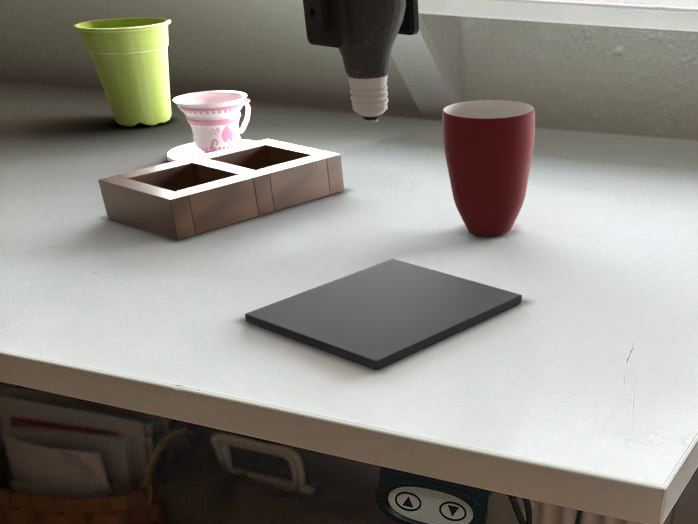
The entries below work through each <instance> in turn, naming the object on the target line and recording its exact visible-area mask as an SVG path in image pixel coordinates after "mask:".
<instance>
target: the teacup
mask: <svg viewBox="0 0 698 524" xmlns="http://www.w3.org/2000/svg"><path fill="white" fill-rule="evenodd" d="M247 97H248V94H247V93H246V92H244V91H240V90H231V89H230V90H229V89H228V90H226V89H221V90H219V89H217V90H216V89H215V90H204V91H203V90H202V91H195V92H189V93H185V94H181V95H178V96H175V97H173V99H172V102H173V103H174V104H175V105H176V108H177V109H179V111H181V112H182V113H183V114H184V115H185V116H184V117H185V121H187V122H188V124H189V125H190V128H191V131H192V139H193V142H189V143H185V144H181V145H179V146H176V147H173V148H171V149H170V150H169V151H168V152H167V153H166V157H167V161H169V162H173V161H177V160H182V159H186V158H190V157H194V156H198V155H202V154H207V153H211V152H215V151H219V150H223V149H227V148H232V147H236V146H240V145H244V144H248V143H252V142H256V141H257V140H253V139H243V138H241V134H243V133H244V132H245V131H246V129H247V127H248V124H249V123H250V118H251V111H252V107H251V104H250V103H251V99H250V98H247ZM243 107H245V113H244V119H243V121H242V123H241V126H240V125H239V123H240V118H241V116H242V114H241V110H242V109H243Z"/></svg>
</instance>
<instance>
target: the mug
mask: <svg viewBox="0 0 698 524" xmlns="http://www.w3.org/2000/svg"><path fill="white" fill-rule="evenodd" d="M441 115H442V118H441V119H442V120H441V121H442V122H441V123H442V143H443V150H444V156H445V161H446V166H447V167H446V168H447V172H448V178H449V181H450V188H451V193H452V198H453V202H454V205H455V207H456V210H457V211H458V214H459V216H460V217H461V220H462V221H463V223H464V225H465V228H466V229H467V231H468V232H469V233H470V234H471V235H476V236H481V237H495V236H501V235H505V234H508V233H509V232H510V231H511V230H512V228H513V226H514V225H515V223H516V220H517V218H518V216H519V214H520V212H521V210H522V207H523V206H524V203H525V199H526V194H527V188H528V182H529V177H530V170H531V165H532V159H533V154H534V148H535V137H536V109H535V107H534V106H533V105H532V104H529V103H527V102H522V101H516V100H507V99H476V100H465V101H460V102H456V103H455V102H454V103H451V104H449V105H446V106H444V107H443V108H442V112H441Z"/></svg>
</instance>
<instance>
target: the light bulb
mask: <svg viewBox="0 0 698 524" xmlns="http://www.w3.org/2000/svg"><path fill="white" fill-rule="evenodd" d="M345 1H346V13H347V24H348V36H349V42H348V44H347V46H346V47H341V48H338V51H339V53H340V55H341V57H342V58H341V59H342V62H343V67H344V72H345V73H346V75H347V78H348V82H349V85H348V86H349V88H350V90H349V93H350V94H351V96H350V100H351V106H352V111H353V112H355V113H356V114H357V115H358V116H361V117H362V119H363V121H364V122H365V123H376V122H378V121H379V119H380V116H381V115H383V114H384V113H385V112H386V111H387V110H388V103H389V97H388V95H389V92H388V88H389V87H388V77H389V74H390V73H389V72H390V66H391V65H390V64H391V55H392V51H393V47H394V44H395V41H396V39H397V37H398V35H399V34H398V31H399V29H400V26H401V24H402V21H403V17H404V12H405V8H406V0H345Z"/></svg>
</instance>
